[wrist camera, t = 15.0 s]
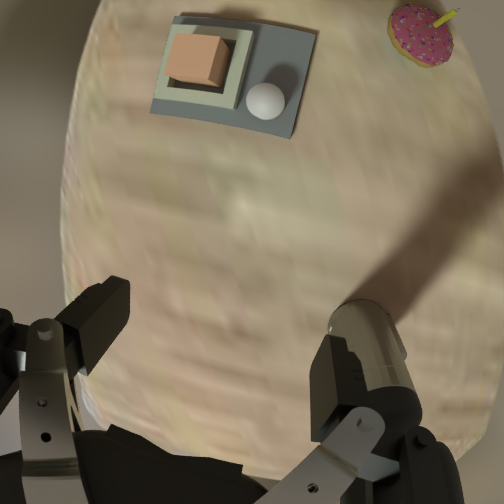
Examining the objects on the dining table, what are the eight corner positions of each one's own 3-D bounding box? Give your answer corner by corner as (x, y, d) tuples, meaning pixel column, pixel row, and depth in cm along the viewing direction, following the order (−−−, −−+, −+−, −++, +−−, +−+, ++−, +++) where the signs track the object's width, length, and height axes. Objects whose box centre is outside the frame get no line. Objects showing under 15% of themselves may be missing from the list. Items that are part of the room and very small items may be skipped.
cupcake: (402, 6, 25) (437, -29, 14) (446, 51, 26) (494, 32, 15) (366, 38, 28) (395, 4, 17) (414, 85, 29) (460, 71, 18)
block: (230, 51, 30) (220, 36, 24) (220, 87, 32) (208, 79, 26) (192, 46, 30) (175, 32, 24) (182, 82, 32) (163, 74, 26)
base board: (314, 37, 29) (318, 23, 24) (289, 138, 34) (290, 139, 30) (177, 18, 29) (163, 5, 25) (153, 113, 35) (135, 111, 30)
